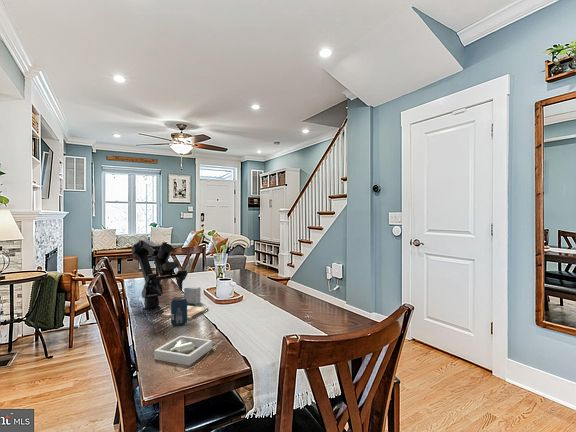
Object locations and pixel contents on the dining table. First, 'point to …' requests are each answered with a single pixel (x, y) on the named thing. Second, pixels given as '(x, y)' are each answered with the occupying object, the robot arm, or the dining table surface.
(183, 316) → the soda can
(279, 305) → the dining table surface
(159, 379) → the dining table surface
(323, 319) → the dining table surface
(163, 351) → the frame
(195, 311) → the subfloor panel
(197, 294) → the medicine box
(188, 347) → the pipe fitting
